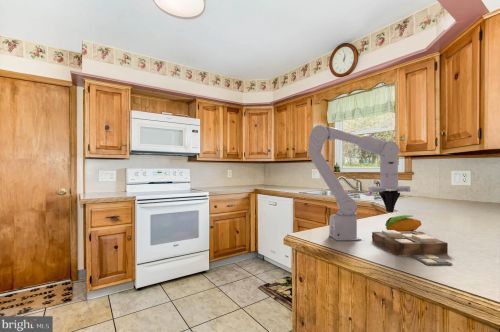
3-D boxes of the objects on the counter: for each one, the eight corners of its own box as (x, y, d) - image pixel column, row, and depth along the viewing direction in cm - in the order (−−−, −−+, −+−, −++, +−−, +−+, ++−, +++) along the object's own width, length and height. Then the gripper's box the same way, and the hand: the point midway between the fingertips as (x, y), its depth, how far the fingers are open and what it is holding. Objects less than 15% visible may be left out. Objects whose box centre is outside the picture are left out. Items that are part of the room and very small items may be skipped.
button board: (396, 255, 76) (396, 243, 76) (372, 241, 90) (372, 232, 90) (447, 254, 77) (447, 243, 77) (415, 241, 91) (415, 231, 91)
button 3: (407, 243, 85) (407, 237, 85) (399, 239, 89) (399, 233, 89) (420, 242, 85) (420, 236, 85) (411, 239, 89) (411, 233, 89)
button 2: (401, 249, 78) (401, 243, 78) (392, 245, 82) (392, 239, 82) (415, 249, 78) (415, 242, 78) (406, 245, 83) (405, 238, 83)
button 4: (421, 245, 78) (421, 238, 78) (411, 240, 83) (411, 234, 83) (435, 244, 79) (435, 238, 79) (424, 240, 83) (424, 234, 83)
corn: (380, 214, 101) (410, 210, 110) (378, 233, 101) (409, 228, 110) (397, 219, 94) (429, 215, 103) (396, 239, 95) (427, 233, 104)
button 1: (389, 239, 84) (389, 233, 84) (381, 235, 89) (381, 230, 89) (402, 239, 85) (402, 233, 85) (393, 235, 89) (393, 230, 89)
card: (427, 265, 69) (427, 263, 69) (410, 256, 76) (410, 254, 76) (452, 265, 69) (452, 262, 69) (432, 256, 76) (432, 254, 76)
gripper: (375, 175, 88) (376, 214, 88) (415, 174, 89) (416, 213, 88) (365, 174, 95) (366, 210, 95) (402, 174, 96) (403, 209, 96)
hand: (389, 211), depth 92 cm, fingers closed
